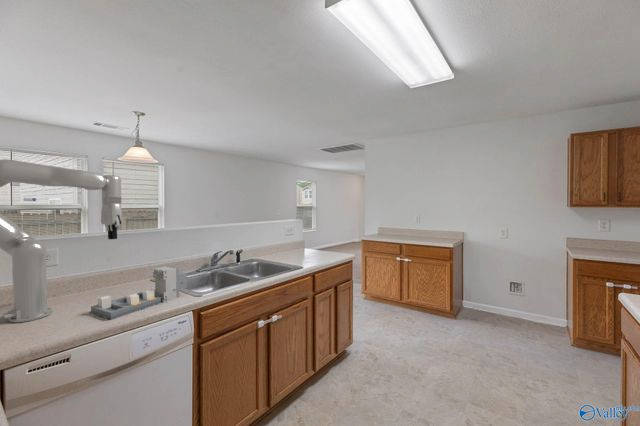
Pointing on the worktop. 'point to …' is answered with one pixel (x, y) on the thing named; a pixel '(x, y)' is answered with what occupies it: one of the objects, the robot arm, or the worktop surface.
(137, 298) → the tab
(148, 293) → the tab
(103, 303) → the tab
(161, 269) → the circuit breaker
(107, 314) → the switch bank
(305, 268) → the worktop surface
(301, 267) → the worktop surface
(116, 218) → the robot arm
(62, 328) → the worktop surface
